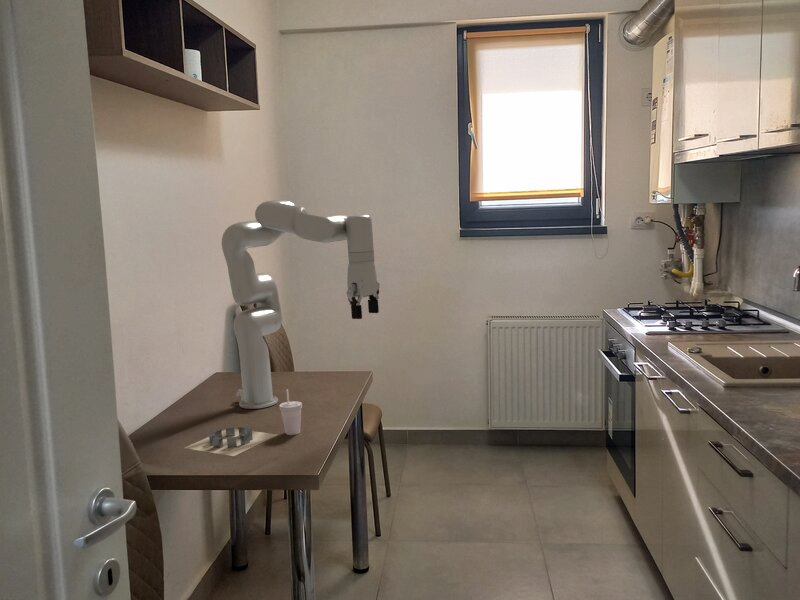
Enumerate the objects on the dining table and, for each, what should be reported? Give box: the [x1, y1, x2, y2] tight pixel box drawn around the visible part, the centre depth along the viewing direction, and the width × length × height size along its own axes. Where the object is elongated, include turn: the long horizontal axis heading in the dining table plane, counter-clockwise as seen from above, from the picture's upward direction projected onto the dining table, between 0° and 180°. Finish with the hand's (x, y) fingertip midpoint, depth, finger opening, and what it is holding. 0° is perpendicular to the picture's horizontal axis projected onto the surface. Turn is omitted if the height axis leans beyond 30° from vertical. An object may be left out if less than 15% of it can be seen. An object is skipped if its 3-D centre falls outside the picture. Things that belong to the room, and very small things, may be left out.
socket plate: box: [184, 428, 278, 457], centre depth 205 cm, size 18×18×2 cm
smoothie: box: [278, 388, 303, 436], centre depth 208 cm, size 6×6×14 cm
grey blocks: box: [208, 425, 253, 448], centre depth 205 cm, size 11×11×2 cm
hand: (365, 315), depth 219 cm, fingers open, 9 cm apart
